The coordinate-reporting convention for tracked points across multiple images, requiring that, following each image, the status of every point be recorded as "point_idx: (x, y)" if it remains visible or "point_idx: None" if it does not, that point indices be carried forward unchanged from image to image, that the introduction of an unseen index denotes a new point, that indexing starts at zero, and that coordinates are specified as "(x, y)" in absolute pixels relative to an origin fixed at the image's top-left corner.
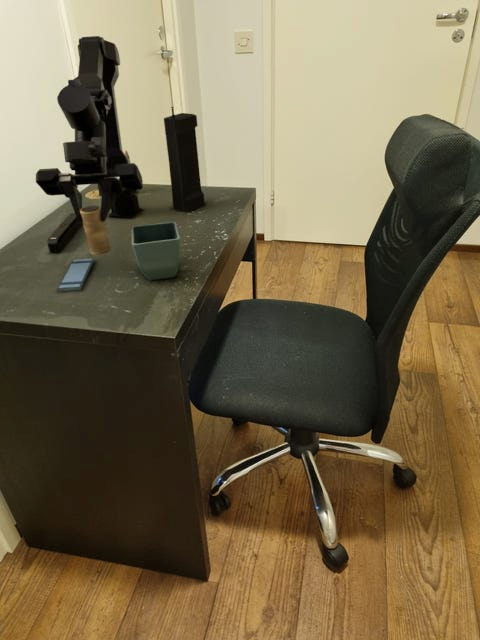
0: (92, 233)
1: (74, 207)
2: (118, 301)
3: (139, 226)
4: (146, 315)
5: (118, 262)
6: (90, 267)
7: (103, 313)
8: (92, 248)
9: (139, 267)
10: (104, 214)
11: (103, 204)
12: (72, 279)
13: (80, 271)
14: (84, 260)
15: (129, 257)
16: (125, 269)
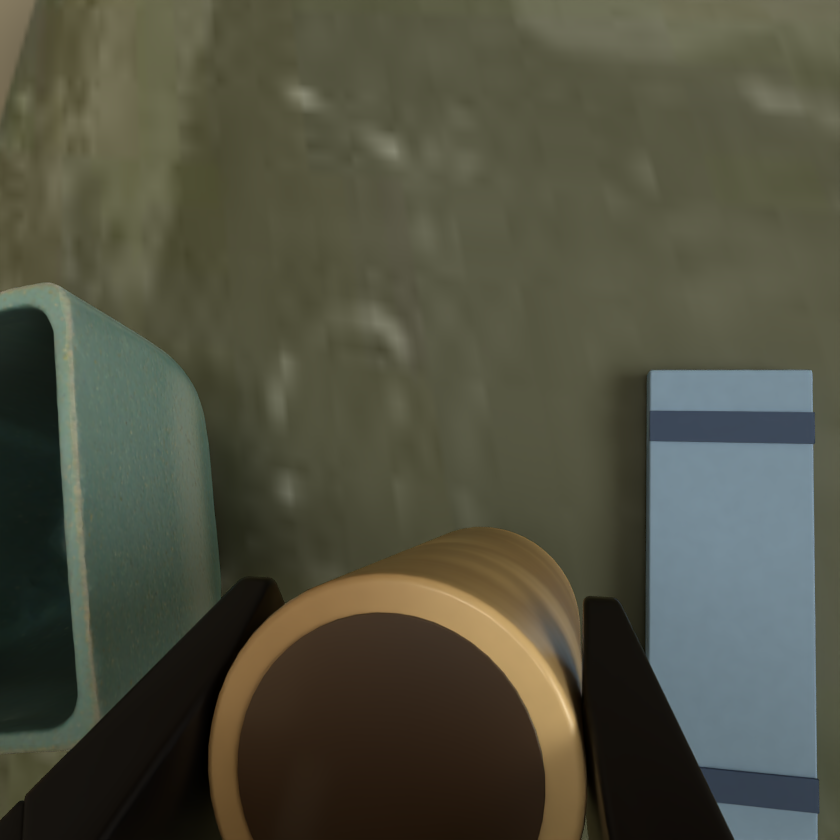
0: (461, 543)
1: (682, 801)
2: (368, 205)
3: (22, 733)
4: (203, 51)
5: None
6: None
7: (437, 79)
8: (523, 542)
9: (181, 368)
10: (194, 630)
11: (112, 759)
12: (733, 488)
13: (700, 614)
14: None
15: None
16: None
